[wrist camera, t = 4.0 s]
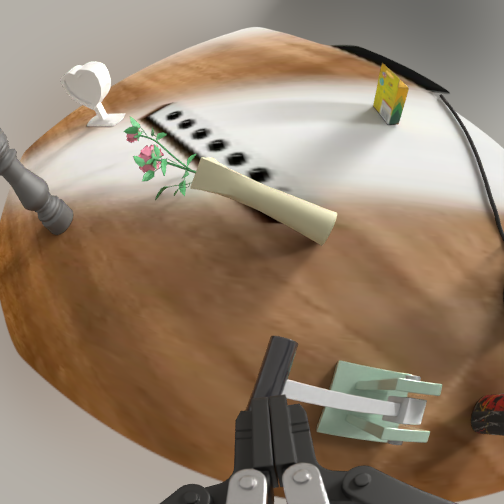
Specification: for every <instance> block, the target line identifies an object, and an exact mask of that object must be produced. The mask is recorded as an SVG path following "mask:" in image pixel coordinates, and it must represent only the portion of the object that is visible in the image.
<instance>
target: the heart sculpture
mask: <svg viewBox="0 0 504 504" xmlns="http://www.w3.org/2000/svg"><path fill="white" fill-rule="evenodd" d="M60 82H61V84H62V86H63V88H64V89H65V91H66V92H67V94H68V95H69V96H70V97H71V98H72V99H74V100H75V101H77V102H78V103H80V104H82V105H84V106H86V107H88V108H90V109H92V110H95V112H96V114H97V115H96V116H95V117H93V118H92V119H91V120H90V121H89V123H88V124H87V126H115V125H116V124H117V123H119V122H120V121H121V120H122V119H123V118H124V116H125V114H107V113H106V111H105V110H104V108H103V106H102V104H101V102H102V100H103V99H104V97H105V96H106V95H107V94H108V92H109V90H110V85H111V79H110V75H109V72H108V70H107V68H106V66H105V65H104V64H102V63H100V62H88V63H86V64H85V65H84V66H81V65H77V66H75V67H73V68H72V69H71V70H69V71H68V72H67V73H66V74H65V75H64V76H63V77H62V78H61V81H60Z"/></svg>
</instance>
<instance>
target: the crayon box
mask: <svg viewBox="0 0 504 504" xmlns="http://www.w3.org/2000/svg"><path fill="white" fill-rule="evenodd" d="M408 89H409V88H408V87H407V86H406V85H405V84H404V83H403V82H402V81H401V80H400V79H399V78H398V77H397V76H396V75H395V74H394V73H393V72H392V71H391V70H390V69H389V68H388V67H386V66H385V65H384V64H383V63H382V66H381V69H380V74H379V79H378V85H377V90H376V95H375V100H374V104H373V107H375V109H376V110H377V111H378V112H379V114H380V115H381V116H382V117H383V119H384V120H385V121H386V123H387V124H388V125H394V124H399V121H400V117H401V114H402V111H403V107H404V104H405V100H406V97H407V93H408Z"/></svg>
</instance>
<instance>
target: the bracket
mask: <svg viewBox="0 0 504 504" xmlns="http://www.w3.org/2000/svg"><path fill="white" fill-rule="evenodd" d="M420 379H421V377H419V376H412V375H411V374H405V373H399V372H393V371H388V370H383V369H377V368H372V367H367V366H363V365H358V364H353V363H349V362H344V361H337V364H336V368H335V372H334V375H333V378H332V382H331V385H330V388H329V390H331V391H336V392H340V393H345V394H350V395H355V396H360V397H365V398H370V399H376V400H382V401H387V400H388V397H389V396H398V397H407V396H440V393H441V388H442V384H436V383H429V382H422V381H420ZM382 417H383V415H377V414H369V413H361V412H355V411H348V410H342V409H336V408H330V407H325V406H324V407H323V410H322V413H321V416H320V419H319V422H318V425H317V428H316V431H317V432H320V433H325V434H331V435H336V436H342V437H348V438H354V439H361V440H368V441H377V442H386V443H389V444H393V445H402V444H403V441H404V442H422V443H426V442H427V440H428V437H429V434H430V431H426V430H422V429H418V428H414V427H410V426H406V425H402V424H398V423H393V422H388V421H383V420H382Z"/></svg>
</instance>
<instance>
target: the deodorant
mask: <svg viewBox="0 0 504 504" xmlns="http://www.w3.org/2000/svg"><path fill="white" fill-rule="evenodd" d="M471 424H472V428H473V430H474V431H475V432H477V433H482V434H492V435H504V394H494V395H486V396H484V397H482V398H481V399H480V400H479V401H478V402H477V404H476V405H475V407H474V410H473V413H472V417H471Z"/></svg>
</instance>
